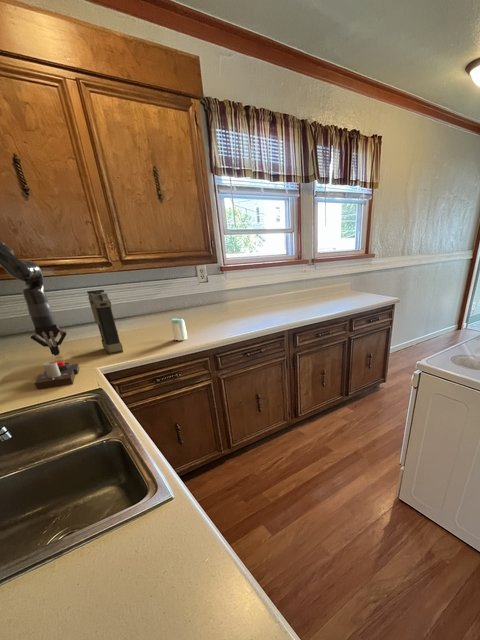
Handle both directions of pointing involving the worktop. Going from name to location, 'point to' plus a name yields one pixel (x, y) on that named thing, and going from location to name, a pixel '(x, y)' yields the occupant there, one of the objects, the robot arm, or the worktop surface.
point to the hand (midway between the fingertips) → (56, 354)
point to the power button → (60, 363)
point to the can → (179, 329)
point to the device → (105, 321)
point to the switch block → (68, 368)
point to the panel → (55, 380)
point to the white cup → (52, 369)
